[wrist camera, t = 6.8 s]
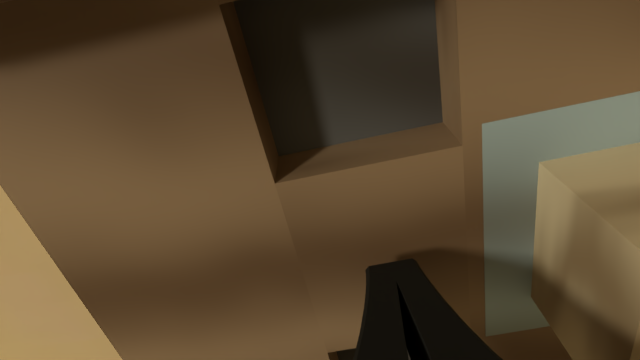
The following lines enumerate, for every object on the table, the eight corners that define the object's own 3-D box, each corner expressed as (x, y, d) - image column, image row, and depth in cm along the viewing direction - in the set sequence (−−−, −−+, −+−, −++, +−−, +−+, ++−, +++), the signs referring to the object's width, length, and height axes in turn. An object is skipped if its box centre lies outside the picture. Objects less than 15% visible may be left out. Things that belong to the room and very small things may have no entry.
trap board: (637, 363, 18) (718, 460, 14) (213, 429, 19) (192, 531, 16) (807, -266, 8) (1182, -434, 5) (-69, -33, 10) (-281, -29, 6)
